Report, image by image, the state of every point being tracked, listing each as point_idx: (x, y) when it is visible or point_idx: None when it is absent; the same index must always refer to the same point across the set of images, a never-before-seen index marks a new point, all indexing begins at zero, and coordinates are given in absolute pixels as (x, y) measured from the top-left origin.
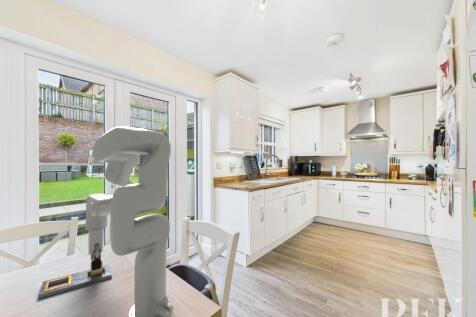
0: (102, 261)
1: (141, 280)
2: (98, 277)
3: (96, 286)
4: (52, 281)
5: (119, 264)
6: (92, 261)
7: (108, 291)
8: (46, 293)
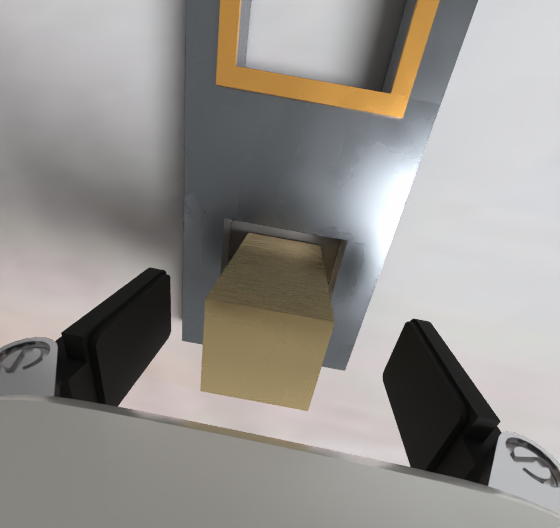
0: (203, 382)
1: None
2: (194, 277)
3: (152, 242)
4: None
5: (343, 397)
6: (70, 331)
7: (57, 275)
8: None
